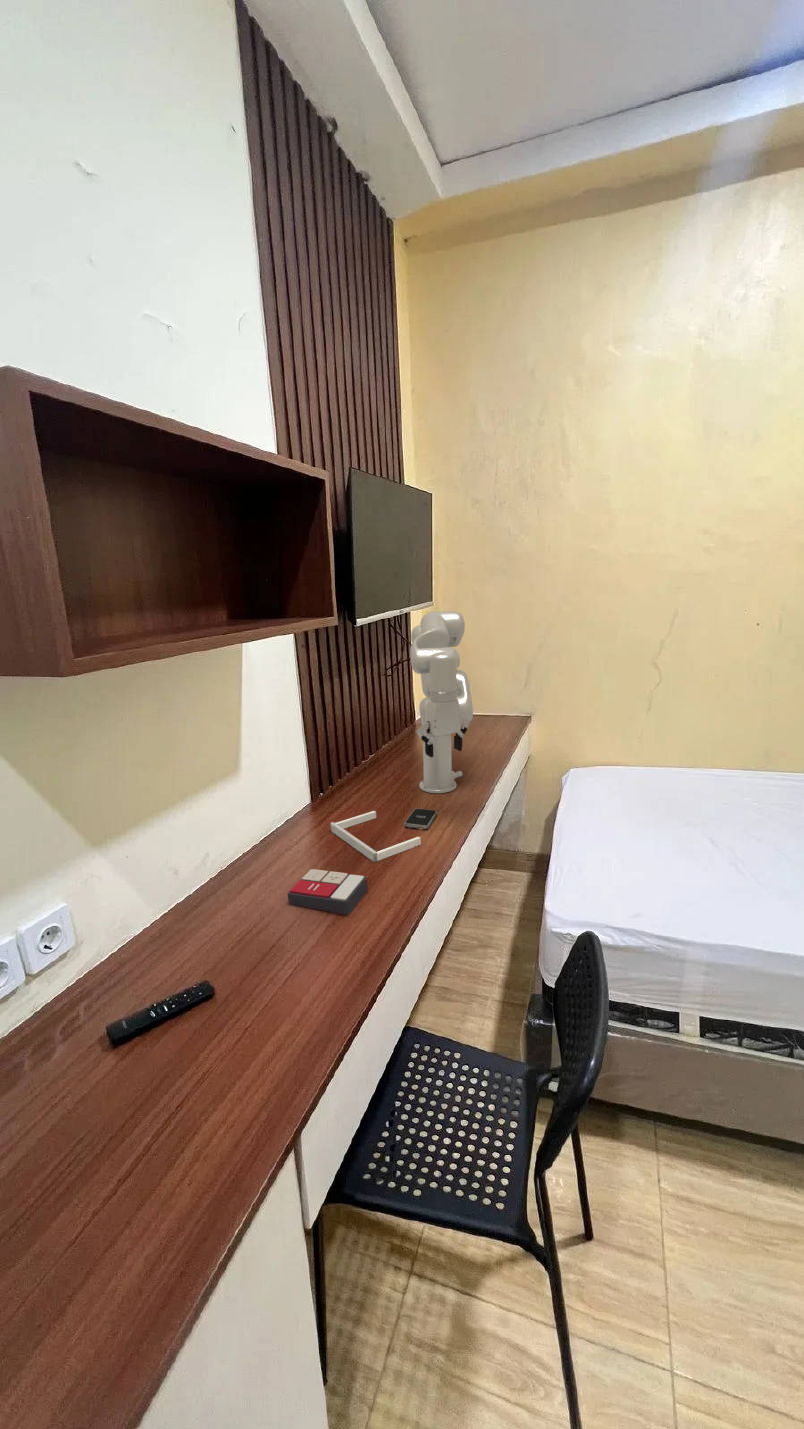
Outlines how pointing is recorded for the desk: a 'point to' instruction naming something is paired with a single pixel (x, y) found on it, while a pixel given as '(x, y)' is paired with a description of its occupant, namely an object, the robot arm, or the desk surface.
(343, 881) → the button keypad
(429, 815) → the external hard drive
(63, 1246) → the desk surface
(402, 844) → the white u-shaped frame
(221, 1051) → the desk surface
